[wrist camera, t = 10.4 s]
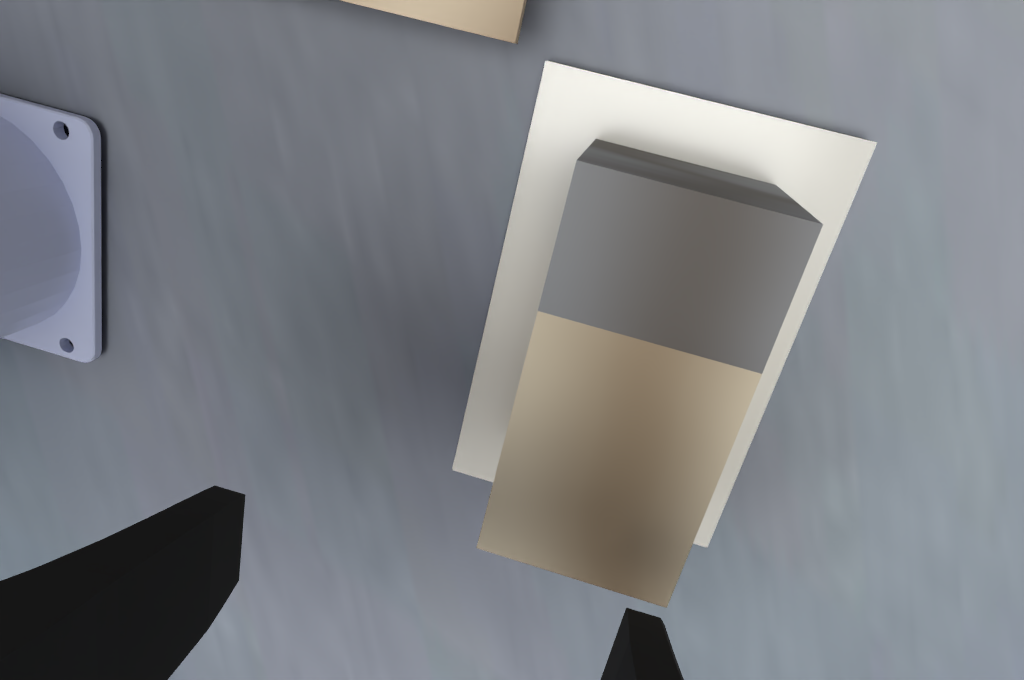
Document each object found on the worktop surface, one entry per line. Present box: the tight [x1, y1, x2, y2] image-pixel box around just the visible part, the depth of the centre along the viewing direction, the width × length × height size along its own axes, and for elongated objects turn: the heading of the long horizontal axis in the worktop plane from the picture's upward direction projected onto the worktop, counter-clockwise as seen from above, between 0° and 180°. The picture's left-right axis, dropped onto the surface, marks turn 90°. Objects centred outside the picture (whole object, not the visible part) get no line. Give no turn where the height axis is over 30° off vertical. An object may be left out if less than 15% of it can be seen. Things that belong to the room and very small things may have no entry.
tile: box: [452, 61, 877, 548], centre depth 19 cm, size 8×12×1 cm, turn 167°
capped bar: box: [477, 139, 823, 608], centre depth 16 cm, size 4×9×5 cm, turn 167°
